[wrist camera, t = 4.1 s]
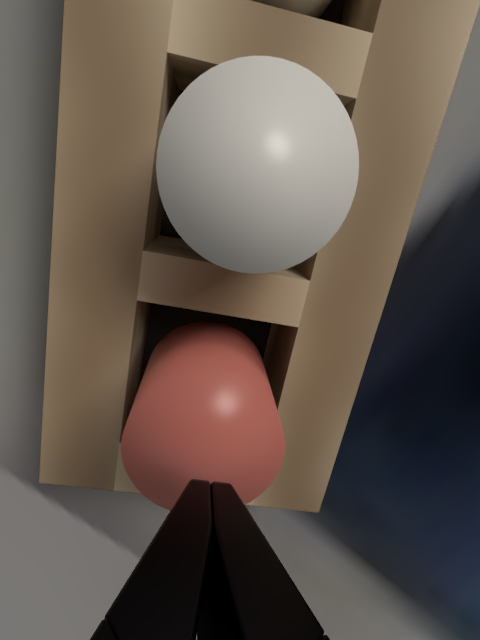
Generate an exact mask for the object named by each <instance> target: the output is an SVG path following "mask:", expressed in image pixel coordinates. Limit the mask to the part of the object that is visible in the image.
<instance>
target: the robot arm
mask: <svg viewBox="0 0 480 640" xmlns="http://www.w3.org/2000/svg"><path fill="white" fill-rule="evenodd" d="M323 634H324V630H323V628H322V627H321V625H320V624H319V622H318V620H317V619H316V617H315V616H314V614H313V613H312V611H311V609H310V608H309V606H308V605H307V603H306V601H305V600H304V598H303V597H302V595H301V594H300V592H299V590H298V589H297V587H296V586H295V584H294V582H293V581H292V579H291V578H290V576H289V574H288V573H287V571H286V570H285V568H284V567H283V565H282V563H281V562H280V560H279V559H278V557H277V555H276V554H275V552H274V551H273V549H272V548H271V546H270V544H269V543H268V541H267V540H266V538H265V536H264V535H263V533H262V532H261V530H260V529H259V527H258V525H257V524H256V522H255V521H254V519H253V517H252V516H251V514H250V513H249V511H248V510H247V508H246V506H245V505H244V503H243V502H242V500H241V498H240V497H239V495H238V494H237V492H236V490H235V489H234V487H233V486H232V485H231V484H230V483H226V482H217V481H213V482H212V483H211V484H210V482H209V481H208V480H200V479H191V480H190V481H189V482H188V484H187V485H186V487H185V489H184V490H183V492H182V493H181V495H180V497H179V498H178V500H177V501H176V503H175V505H174V506H173V508H172V509H171V511H170V513H169V514H168V516H167V517H166V519H165V521H164V522H163V524H162V525H161V527H160V529H159V530H158V532H157V533H156V535H155V537H154V538H153V540H152V541H151V543H150V545H149V546H148V548H147V550H146V551H145V553H144V554H143V556H142V558H141V559H140V561H139V562H138V564H137V566H136V567H135V569H134V570H133V572H132V574H131V575H130V577H129V579H128V580H127V582H126V583H125V585H124V586H123V588H122V590H121V591H120V593H119V595H118V596H117V598H116V599H115V601H114V602H113V604H112V606H111V608H110V609H109V611H108V612H107V614H106V615H105V619H104V620H102V621H101V623H100V624H99V626H98V628H97V629H96V631H95V632H94V634H93V636H92V637H91V639H90V640H196V635H197V640H330V639H329V638H328V636H327V635H324V636H323Z"/></svg>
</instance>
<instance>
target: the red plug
mask: <svg viewBox="0 0 480 640" xmlns="http://www.w3.org/2000/svg"><path fill="white" fill-rule="evenodd" d="M284 453H285V436H284V431H283V427H282V424H281V421H280V417H279V414H278V410H277V407H276V404H275V400H274V397H273V394H272V390H271V387H270V384H269V380H268V377H267V373H266V370H265V367H264V363H263V360H262V357H261V355H260V353H259V351H258V349H257V347H256V346H255V344H254V343H253V342H252V341H251V340H250V339H249V338H248V337H247V336H246V335H245V334H243V333H242V332H241V331H239V330H237V329H235V328H233V327H231V326H229V325H226V324H222V323H218V322H210V321H203V322H194V323H190V324H186V325H183V326H181V327H179V328H176V329H175V330H173V331H171V332H170V333H169V334H167V335H166V336H165V337H164V338H163V339H162V340H161V341H160V342H159V343H158V344H157V346H156V347H155V348H154V350H153V352H152V354H151V356H150V359H149V361H148V364H147V367H146V370H145V373H144V375H143V378H142V381H141V384H140V386H139V389H138V392H137V395H136V397H135V400H134V403H133V406H132V409H131V411H130V414H129V417H128V420H127V422H126V425H125V428H124V431H123V435H122V440H121V454H122V460H123V464H124V468H125V470H126V472H127V474H128V476H129V478H130V480H131V481H132V483H133V484H134V485H135V487H136V488H137V489H138V490H139V491H140V492H141V493H142V494H143V495H144V496H145V497H147V498H148V499H149V500H151V501H152V502H154V503H156V504H157V505H159V506H161V507H163V508H166V509H168V510H171V509H172V508H173V506H174V505H175V503H176V501H177V500H178V498H179V497H180V495H181V493H182V492H183V490H184V489H185V487H186V485H187V484H188V482H189V481H190V480H191V479H200V480H208V481H209V482H210V484H211V483H212V482H213V481H217V482H226V483H230V484H231V485H232V486H233V487H234V489H235V490H236V492H237V494H238V495H239V497H240V498H241V500H242V502H243V503H244V505H246V504H248V503H250V502H251V501H253V500H254V499H256V498H257V497H258V496H259V495H261V494H262V493H263V492H264V491H265V490H266V489H267V488H268V487H269V486H270V485H271V483H272V482H273V480H274V479H275V477H276V476H277V474H278V472H279V470H280V468H281V465H282V462H283V458H284Z"/></svg>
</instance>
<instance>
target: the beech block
mask: <svg viewBox="0 0 480 640" xmlns="http://www.w3.org/2000/svg"><path fill="white" fill-rule="evenodd" d="M479 5H480V0H346V4H345V8H344V12H343V17H342V21H341V24H337V23H333V22H329V21H326V20H322V19H318V18H314V17H311V16H307V15H303V14H300V13H296V12H292V11H288V10H285V9H281V8H277V7H273V6H270V5H266V4H262V3H259V2H255V1H251V0H64V15H63V35H62V54H61V73H60V92H59V111H58V130H57V150H56V169H55V188H54V207H53V226H52V246H51V265H50V284H49V303H48V322H47V342H46V361H45V380H44V399H43V418H42V438H41V457H40V476H39V483H45V484H55V485H64V486H73V487H83V488H92V489H102V490H111V491H120V492H130V493H139V494H142V493H141V492H140V491H139V490H138V489H137V488H136V487H135V485H134V484H133V483H132V481H131V480H130V478H129V476H128V474H127V472H126V470H125V468H124V464H123V460H122V454H121V440H122V435H123V431H124V428H125V425H126V422H127V420H128V417H129V414H130V411H131V409H132V406H133V403H134V400H135V397H136V395H137V392H138V389H139V386H140V381H141V374H142V366H143V359H144V351H145V344H146V336H147V329H148V321H149V314H150V306H151V303H155V304H161V305H167V306H173V307H179V308H185V309H191V310H197V311H204V312H210V313H216V314H222V315H228V316H234V317H240V318H246V319H252V320H258V321H264V322H270V323H271V328H270V332H269V336H268V341H267V345H266V349H265V354H264V358H263V363H264V367H265V370H266V373H267V377H268V380H269V384H270V387H271V390H272V394H273V397H274V400H275V404H276V407H277V410H278V414H279V417H280V421H281V424H282V427H283V431H284V436H285V453H284V458H283V462H282V465H281V468H280V470H279V472H278V474H277V476H276V477H275V479H274V480H273V482H272V483H271V485H270V486H269V487H268V488H267V489H266V490H265V491H264V492H263V493H262V494H261V495H259V496H258V497H257V498H256V499H254V500H253V501H251V502H250V503H248V504H246V505H252V506H261V507H271V508H280V509H290V510H299V511H308V512H318V513H319V510H320V507H321V503H322V500H323V497H324V494H325V491H326V488H327V484H328V481H329V478H330V475H331V472H332V469H333V466H334V462H335V459H336V456H337V453H338V450H339V447H340V443H341V440H342V437H343V434H344V431H345V428H346V425H347V421H348V418H349V415H350V412H351V409H352V406H353V402H354V399H355V396H356V393H357V390H358V387H359V384H360V380H361V377H362V374H363V371H364V368H365V365H366V361H367V358H368V355H369V352H370V349H371V346H372V343H373V339H374V336H375V333H376V330H377V327H378V324H379V320H380V317H381V314H382V311H383V308H384V305H385V302H386V298H387V295H388V292H389V289H390V286H391V283H392V280H393V276H394V273H395V270H396V267H397V264H398V261H399V257H400V254H401V251H402V248H403V245H404V242H405V239H406V235H407V232H408V229H409V226H410V223H411V220H412V216H413V213H414V210H415V207H416V204H417V201H418V198H419V194H420V191H421V188H422V185H423V182H424V179H425V175H426V172H427V169H428V166H429V163H430V160H431V157H432V153H433V150H434V147H435V144H436V141H437V138H438V134H439V131H440V128H441V125H442V122H443V119H444V116H445V112H446V109H447V106H448V103H449V100H450V97H451V93H452V90H453V87H454V84H455V81H456V78H457V75H458V71H459V68H460V65H461V62H462V59H463V56H464V52H465V49H466V46H467V43H468V40H469V37H470V34H471V30H472V27H473V24H474V21H475V18H476V15H477V11H478V8H479ZM247 56H271V57H277V58H282V59H285V60H288V61H291V62H294V63H297V64H299V65H301V66H303V67H305V68H307V69H308V70H310V71H311V72H313V73H314V74H315V75H317V76H318V77H320V78H321V79H322V80H323V81H324V82H325V83H326V84H327V85H328V86H329V87H330V88H331V89H332V90H333V91H334V93H335V94H336V95H337V96H338V98H339V99H340V101H341V102H342V104H343V106H344V107H345V109H346V111H347V113H348V115H349V117H350V120H351V122H352V124H353V128H354V131H355V135H356V138H357V145H358V151H359V174H358V183H357V187H356V192H355V196H354V199H353V202H352V205H351V208H350V210H349V212H348V214H347V216H346V218H345V220H344V222H343V223H342V225H341V226H340V228H339V230H338V231H337V232H336V233H335V235H334V236H333V237H332V238H331V240H330V241H329V242H328V243H327V244H326V245H325V246H324V247H323V248H322V249H321V250H319V251H318V252H317V253H315V254H314V255H313V256H311V257H310V258H308V259H306V260H305V261H303V262H301V263H300V264H297V265H295V266H292V267H290V268H287V269H284V270H280V271H277V272H271V273H261V274H251V273H242V272H237V271H233V270H229V269H226V268H223V267H221V266H218V265H216V264H214V263H212V262H210V261H208V260H207V259H205V258H203V257H202V256H201V255H199V254H198V253H197V252H195V251H194V250H193V249H192V248H191V247H190V246H189V245H188V244H187V243H186V242H185V241H184V240H183V239H179V238H174V237H168V236H163V235H160V231H161V223H162V216H163V208H164V207H163V204H162V201H161V197H160V194H159V189H158V184H157V174H156V158H157V148H158V143H159V138H160V134H161V131H162V128H163V125H164V122H165V120H166V118H167V116H168V114H169V112H170V110H171V108H172V106H173V105H174V103H175V102H176V100H177V99H178V95H179V90H183V91H184V90H185V89H186V88H187V87H188V86H189V85H190V84H191V83H192V82H193V81H194V80H195V79H196V78H198V77H199V76H200V75H202V74H203V73H205V72H206V71H208V70H209V69H211V68H212V67H215V66H217V65H219V64H221V63H223V62H226V61H229V60H232V59H236V58H239V57H247Z"/></svg>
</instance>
